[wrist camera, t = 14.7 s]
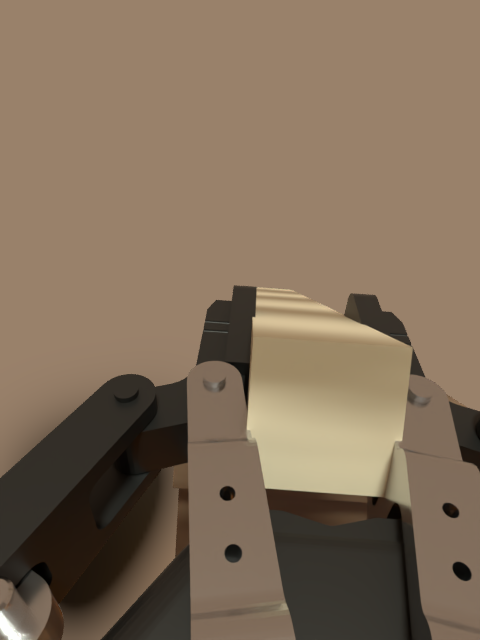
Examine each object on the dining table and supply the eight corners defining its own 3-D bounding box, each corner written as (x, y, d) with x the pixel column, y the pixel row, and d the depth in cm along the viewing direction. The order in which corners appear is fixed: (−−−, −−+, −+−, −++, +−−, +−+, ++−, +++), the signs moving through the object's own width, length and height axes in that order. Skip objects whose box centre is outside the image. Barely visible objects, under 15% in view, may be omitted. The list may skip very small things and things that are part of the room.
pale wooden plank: (395, 498, 8) (412, 347, 8) (242, 486, 8) (253, 336, 8) (288, 329, 32) (291, 289, 32) (248, 326, 32) (251, 287, 32)
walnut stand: (479, 1041, 23) (576, 467, 19) (146, 1008, 23) (175, 437, 19) (385, 723, 39) (427, 377, 35) (189, 706, 39) (209, 361, 35)
